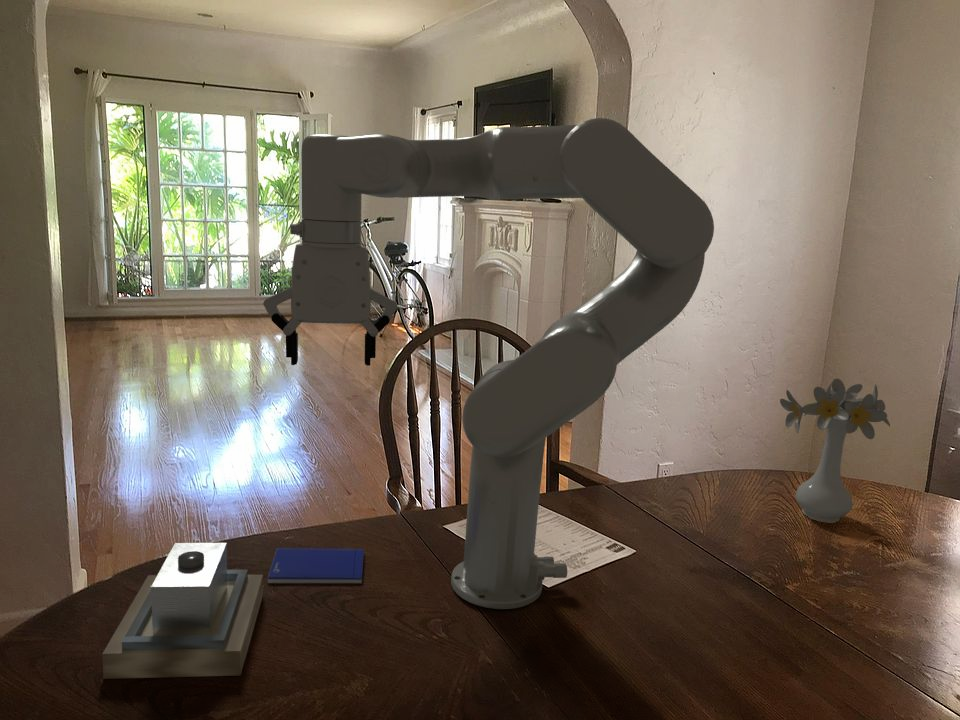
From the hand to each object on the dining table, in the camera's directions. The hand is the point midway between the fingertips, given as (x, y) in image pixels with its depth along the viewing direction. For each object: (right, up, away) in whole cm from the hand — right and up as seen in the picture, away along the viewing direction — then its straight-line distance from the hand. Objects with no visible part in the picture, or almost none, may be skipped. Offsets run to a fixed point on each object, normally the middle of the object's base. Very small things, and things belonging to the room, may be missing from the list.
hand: (331, 363), depth 99 cm
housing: (-14, -29, -13) cm, 34 cm away
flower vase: (+81, -28, +33) cm, 92 cm away
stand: (-14, -32, -12) cm, 37 cm away
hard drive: (-3, -29, +4) cm, 30 cm away
